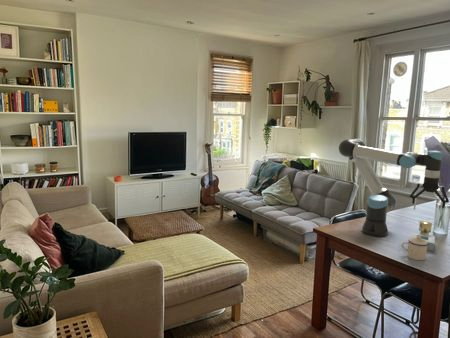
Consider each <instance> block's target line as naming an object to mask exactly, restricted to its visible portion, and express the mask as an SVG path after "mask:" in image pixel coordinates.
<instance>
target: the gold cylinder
mask: <svg viewBox="0 0 450 338" xmlns="http://www.w3.org/2000/svg"><path fill="white" fill-rule="evenodd" d="M432 225H433V223H432V222H429V221H427V220H426V221H425V220H421V221H419V225H418V231H419V232H420V233H419V234H424V235H429V234H430V233H432V227H433V226H432ZM429 236H430V235H429Z"/></svg>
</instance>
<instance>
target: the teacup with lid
mask: <svg viewBox="0 0 450 338" xmlns="http://www.w3.org/2000/svg"><path fill="white" fill-rule="evenodd" d="M405 244H406V245H408V246H407V249H406V248H405V247H404V245H405ZM427 245H428V242H427V241H425V240H423V239H422V238H421V237H420V236H417V237H415V238H410V237H409V238H408V241H403V242H402V243H401V248H402V250H404V251H405V252H407V257H408V258H410V259H412V260H414V261H424V260H426V259H427V252H428V250H427Z"/></svg>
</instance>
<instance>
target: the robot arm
mask: <svg viewBox="0 0 450 338" xmlns="http://www.w3.org/2000/svg"><path fill="white" fill-rule="evenodd" d="M338 151H339V153H340V155H342V156H344V157H345V158H349V160H350V162H353V163H354V165H355V166H356V168H357V170H358V173H360V175H361V177H362V179H363V181H364V182H365V184H366V186H367V188H368V190H369V191H370V195H369V196H368V198H367V199H366V200H367V201H366V211H365V214H366V215H365V220H364V223H363V225H362V227H361V232H362V233H363V234H365V235H368V236H371V237H380V238H381V237H387V236H388V233H389V229H388V226H387V214H388V213H389V212H391V211H393V210H394V209H395V208H396V206H397V198H396V196H395V195H394V194H392V193H391V192H390V191H389V189H388V188H386V187H384V185H383V184H382V182H381V180H380V178H379V176H378V175H377V172H375V169H374V168H373V165H372V163H371V161H374V162H380V163H384V164H390V165H394V166H400V167H402V168H404V169H411V168H412V167H415V166H421V167H425V170H424V177H423V183H420V182H418V183H417V185H416V186H415V188H414V189H413V191H412V192H411V194H410V195H409V198H411V199H412V204H413V210H416V208H417V207H416V204H417V198H418V197H419V196H420V195H421V194H423V193H425V192H426V193H435V195H436V196H437V197H438V199H440V201H441V202H440V209H439V214H442V213H443V212H442V209H445V206H446V204H447V203H450V201H449V197H448V195H447V193H446V191H445V190H446V189H445V186H444V185H439V183H440V182H439V181H440V175H441V167H442V163H443V162H442V161H443V152H442V151H440V150H428V151H427V153H423V152H414V151H406V152H405V153H403V152H402V153H401V152H397V151H392V150H386V149H382V148H381V149H380V148H375V147H370V146H366V143H365V142H364V141H363V140H362V139H360V138H357V137H356V138H353V137H352V138H349V139H347V138H346V139H344V140H342V141H341V142H339V145H338ZM421 187H422V189H421V190H420V191H419V192H417V191H418V190H419V188H421ZM439 190H440V191H441V192H442V195H443V197H444V198H443V197H442V195H441V194H440V192H439ZM415 193H416V194H415Z"/></svg>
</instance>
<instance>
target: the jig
mask: <svg viewBox="0 0 450 338" xmlns="http://www.w3.org/2000/svg"><path fill="white" fill-rule="evenodd" d="M417 236H420V237H421V238H422V239H423V240H425V241H427V242H428V245H427V251H432V252H434V247H435V240H436V237H435V236H434V235H424V234H420V233H418V232H410V237H409V239H410V238H415V237H417Z"/></svg>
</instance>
